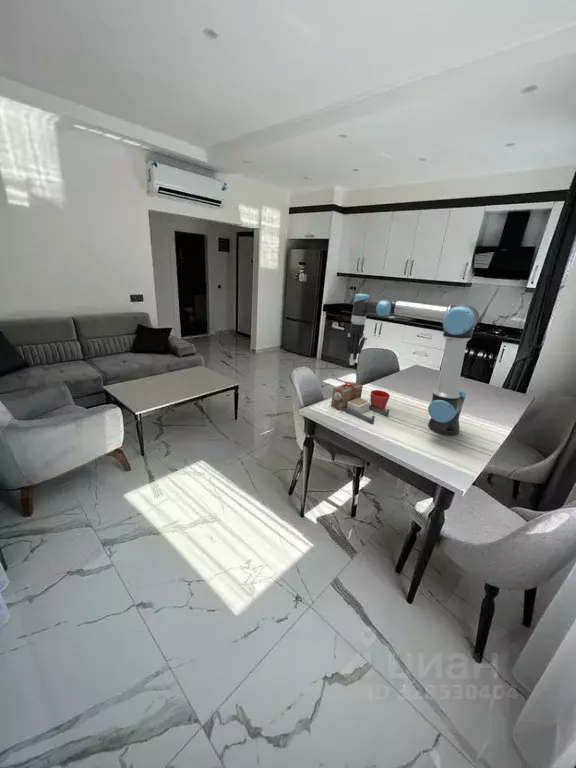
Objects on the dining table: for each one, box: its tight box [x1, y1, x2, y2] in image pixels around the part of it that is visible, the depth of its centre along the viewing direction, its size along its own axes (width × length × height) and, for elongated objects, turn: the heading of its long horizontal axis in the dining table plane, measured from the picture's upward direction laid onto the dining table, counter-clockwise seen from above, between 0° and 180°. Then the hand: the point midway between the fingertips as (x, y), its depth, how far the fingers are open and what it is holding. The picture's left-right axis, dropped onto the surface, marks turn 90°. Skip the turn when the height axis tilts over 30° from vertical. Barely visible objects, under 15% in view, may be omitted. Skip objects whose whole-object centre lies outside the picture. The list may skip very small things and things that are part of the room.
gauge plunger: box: [344, 381, 353, 389], centre depth 184 cm, size 4×4×8 cm
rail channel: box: [342, 404, 390, 425], centre depth 178 cm, size 20×16×4 cm
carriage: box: [347, 397, 371, 414], centre depth 181 cm, size 8×11×6 cm
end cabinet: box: [330, 381, 364, 412], centre depth 186 cm, size 8×18×12 cm, turn 133°
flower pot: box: [370, 389, 390, 411], centre depth 185 cm, size 11×11×10 cm
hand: (352, 364), depth 179 cm, fingers closed
